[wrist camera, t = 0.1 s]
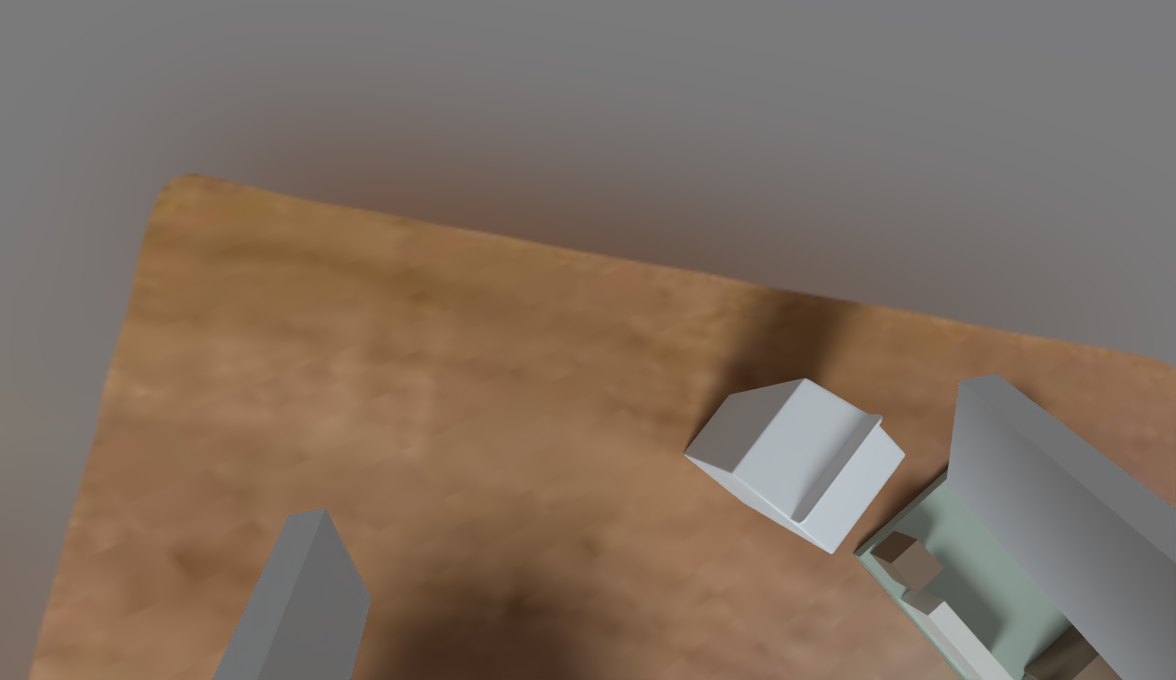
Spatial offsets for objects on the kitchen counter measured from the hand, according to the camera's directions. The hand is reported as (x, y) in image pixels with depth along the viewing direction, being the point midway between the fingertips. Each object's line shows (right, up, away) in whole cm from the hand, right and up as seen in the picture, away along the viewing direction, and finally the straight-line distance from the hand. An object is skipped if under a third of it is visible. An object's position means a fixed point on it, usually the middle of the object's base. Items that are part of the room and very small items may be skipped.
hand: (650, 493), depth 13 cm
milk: (+10, -5, +35) cm, 37 cm away
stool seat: (+30, -15, +33) cm, 47 cm away
